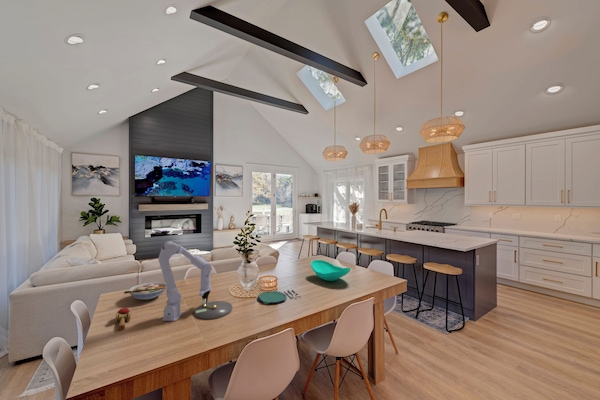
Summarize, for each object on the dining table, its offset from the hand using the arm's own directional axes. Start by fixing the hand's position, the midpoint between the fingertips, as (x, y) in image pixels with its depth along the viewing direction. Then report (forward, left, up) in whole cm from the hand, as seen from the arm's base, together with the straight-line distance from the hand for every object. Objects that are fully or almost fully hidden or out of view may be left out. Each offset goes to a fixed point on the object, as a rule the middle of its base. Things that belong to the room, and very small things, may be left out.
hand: (204, 302), depth 156 cm
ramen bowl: (+15, +44, -4) cm, 47 cm away
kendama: (-19, +38, -4) cm, 43 cm away
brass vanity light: (-3, -3, -2) cm, 4 cm away
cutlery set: (+18, -46, -4) cm, 50 cm away
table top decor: (+59, -88, -4) cm, 106 cm away
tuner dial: (-3, -7, -3) cm, 8 cm away
